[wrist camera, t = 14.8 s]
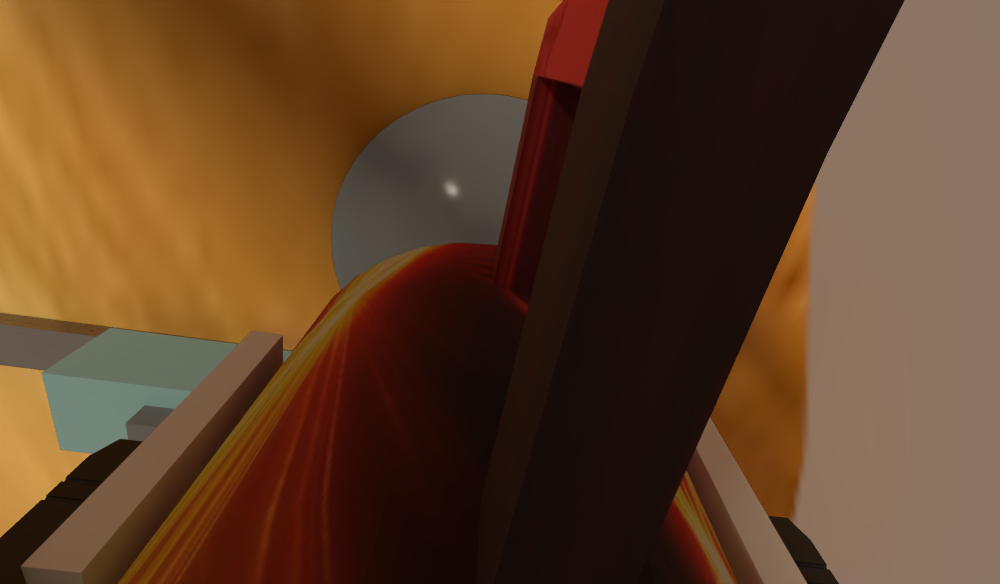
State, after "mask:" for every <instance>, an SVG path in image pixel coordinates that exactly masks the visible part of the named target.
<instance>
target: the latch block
mask: <svg viewBox="0 0 1000 584" xmlns="http://www.w3.org/2000/svg"><path fill="white" fill-rule="evenodd" d="M237 345H238V344H232V343H225V342H217V341H209V340H201V339H194V338H186V337H178V336H170V335H163V334H155V333H147V332H139V331H132V330H124V329H116V328H109V329H108V330H106V331H105V332H103V333H102V334H100V335H99V336H97V337H96V338H94V339H92V340H91V341H89V342H88V343H86V344H85V345H83V346H82V347H80V348H79V349H77V350H76V351H74V352H73V353H71V354H70V355H68V356H66V357H65V358H63V359H62V360H60V361H59V362H57V363H56V364H54V365H53V366H51V367H50V368H48V369H47V370H45V371H44V372H42V377H43V381H44V385H45V389H46V393H47V397H48V402H49V406H50V410H51V414H52V418H53V422H54V426H55V430H56V434H57V438H58V442H59V446H60V450H66V451H74V452H83V453H91V454H93V453H95V452H97V451H99V450H100V449H102V448H104V447H106V446H108V445H110V444H111V443H113V442H115V441H117V440H119V439H127V440H135V441H144V440H145V439H146V438H147V437H148V436H149V435H150V434H151V433H152V432H153V431H154V430H155V429H156V428H157V427H158V426H159V425H160V424H161V423H162V422H163V421H164V420H165V419H166V418H167V417H168V416H169V415H170V414H171V413H172V412H173V411H174V409H175V408H176V407H177V406H178V405H179V404H180V403H181V402H182V401H183V400H184V399H185V398H186V397H187V396H188V395H189V394H190V393H191V392H192V391H193V390H194V389H195V388H196V387H197V386H198V385H199V384H200V383H201V382H202V381H203V380H204V379H205V378H206V377H207V376H208V375H209V374H210V373H211V372H212V371H213V370H214V369H215V368H216V367H217V366H218V365H219V364H220V363H221V362H222V361H223V360H224V359H225V358H226V357H227V355H228V354H229V353H230V352H231V351H232V350H233V349H234V348H235V347H236V346H237ZM291 352H292V351H287V350H283V363H284V362H285V360H286V359H287V358H288V356H289V355H290V354H291Z"/></svg>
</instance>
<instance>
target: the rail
mask: <svg viewBox="0 0 1000 584" xmlns="http://www.w3.org/2000/svg"><path fill="white" fill-rule="evenodd" d="M109 328H113V327H105V326H97V325H90V324H82V323H74V322H66V321H59V320H51V319H43V318H35V317H28V316H20V315H12V314H4V313H0V365H5V366H13V367H21V368H30V369H38V370H47V369H48V368H50V367H51V366H53V365H54V364H56V363H57V362H59V361H60V360H62V359H63V358H65V357H66V356H68V355H70V354H71V353H73V352H74V351H76V350H77V349H79V348H80V347H82V346H83V345H85V344H86V343H88V342H89V341H91V340H92V339H94V338H96V337H97V336H99V335H100V334H102V333H103V332H105V331H106V330H108V329H109ZM116 329H121V328H116ZM124 330H128V329H124ZM132 331H136V330H132ZM139 332H144V331H139ZM147 333H152V332H147ZM155 334H159V333H155ZM163 335H167V334H163ZM170 336H175V335H170ZM178 337H183V336H178ZM186 338H190V337H186ZM194 339H198V338H194ZM201 340H206V339H201ZM209 341H213V340H209ZM217 342H221V341H217ZM225 343H229V342H225ZM232 344H237V343H232ZM287 351H291V350H287Z"/></svg>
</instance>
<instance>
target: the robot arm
mask: <svg viewBox="0 0 1000 584" xmlns="http://www.w3.org/2000/svg"><path fill="white" fill-rule="evenodd" d="M282 364H283V335H278V334H271V333H263V332H256V331H251V332H250V333H249V334H248V335H247V336H246V337H245V338H244V339H243V340H242V341H241V342H240V343H239V344H238V345H237V346H236V347H235V348H234V349H233V350H232V351H231V352H230V353H229V354H228V355H227V357H226V358H225V359H224V360H223V361H222V362H221V363H220V364H219V365H218V366H217V367H216V368H215V369H214V370H213V371H212V372H211V373H210V374H209V375H208V376H207V377H206V378H205V379H204V380H203V381H202V382H201V383H200V384H199V385H198V386H197V387H196V388H195V389H194V390H193V391H192V392H191V393H190V394H189V395H188V396H187V397H186V398H185V399H184V400H183V401H182V402H181V403H180V404H179V405H178V406H177V407H176V408H175V409H174V411H173V412H172V413H171V414H170V415H169V416H168V417H167V418H166V419H165V420H164V421H163V422H162V423H161V424H160V425H159V426H158V427H157V428H156V429H155V430H154V431H153V432H152V433H151V434H150V435H149V436H148V437H147V438H146V439H145V440H144V441H135V440H127V439H119V440H117V441H115V442H113V443H111V444H110V445H108V446H106V447H104V448H102V449H100V450H99V451H97V452H95V453H93V454H91V455H90V456H88V457H87V458H86V459H85V460H84V461H83V462H82V463H81V464H80V465H79V466H78V467H77V468H75V469H74V470H73V471H72V472H71V473H70V474H69V475H68V476H67V477H66V480H65V481H64V482H62V481H61V482H60V483H59V484H58V485H57V486H56V487H55V488H54V489H53V490H52V491H51V492H49V493H48V494H47V495H46V499H45V500H41V501H40V502H39V503H37V504H36V505H35V506H34V507H33V508H32V509H31V510H30V511H29V512H28V513H27V514H26V515H24V516H23V517H22V518H21V519H20V520H19V521H18V522H17V523H16V524H15V525H14V526H13V527H11V528H10V529H9V530H8V531H7V532H6V533H5V534H4V535H3V536H2V537H1V538H0V584H118V582H119V581H120V580H121V578H122V577H123V576H124V574H125V573H126V572H127V570H128V569H129V568H130V566H131V565H132V564H133V562H134V561H135V560H136V558H137V557H138V556H139V554H140V553H141V552H142V550H143V549H144V548H145V546H146V545H147V544H148V542H149V541H150V540H151V538H152V537H153V536H154V534H155V533H156V532H157V530H158V529H159V528H160V526H161V525H162V524H163V522H164V521H165V520H166V518H167V517H168V516H169V515H170V513H171V512H172V511H173V509H174V508H175V507H176V505H177V504H178V503H179V501H180V500H181V499H182V497H183V496H184V495H185V493H186V492H187V491H188V489H189V488H190V487H191V485H192V484H193V483H194V481H195V480H196V479H197V477H198V476H199V475H200V473H201V472H202V471H203V469H204V468H205V467H206V465H207V464H208V463H209V461H210V460H211V459H212V457H213V456H214V455H215V453H216V452H217V451H218V449H219V448H220V447H221V445H222V444H223V443H224V441H225V440H226V439H227V437H228V436H229V435H230V433H231V432H232V431H233V430H234V428H235V427H236V426H237V424H238V423H239V422H240V420H241V419H242V418H243V416H244V415H245V414H246V412H247V411H248V410H249V408H250V407H251V406H252V404H253V403H254V402H255V400H256V399H257V398H258V396H259V395H260V394H261V392H262V391H263V390H264V388H265V387H266V386H267V384H268V383H269V382H270V380H271V379H272V378H273V376H274V375H275V374H276V372H277V371H278V370H279V368H280V367H281V366H282ZM687 472H688V474H689V477H690V479H691V481H692V483H693V485H694V488H695V490H696V492H697V494H698V497H699V499H700V501H701V503H702V505H703V508H704V510H705V512H706V514H707V517H708V519H709V521H710V523H711V525H712V528H713V530H714V532H715V534H716V536H717V539H718V541H719V543H720V545H721V548H722V550H723V552H724V554H725V556H726V559H727V561H728V563H729V565H730V568H731V570H732V572H733V574H734V576H735V579H736V581H737V583H738V584H839V583H838V582H837V580H836V579H835V577H834V576H833V574H832V573H831V571H830V570H827V568H826V563H825V562H824V560H823V559H822V557H821V556H820V554H819V552H818V551H817V549H816V548H815V546H814V545H813V543H812V542H811V540H810V539H809V538H808V537H807V536H806V535H805V534H804V533H803V532H801V531H800V530H799V529H798V528H797V527H796V526H795V525H794V524H793V523H792V522H791V521H790V520H789V519H788V518H782V517H774V516H767V514H766V512H765V510H764V509H763V507H762V505H761V504H760V502H759V500H758V498H757V497H756V495H755V493H754V492H753V490H752V488H751V486H750V485H749V483H748V481H747V480H746V478H745V476H744V475H743V473H742V471H741V469H740V468H739V466H738V464H737V463H736V461H735V459H734V457H733V456H732V454H731V452H730V451H729V449H728V447H727V445H726V444H725V442H724V440H723V439H722V437H721V435H720V433H719V432H718V430H717V428H716V427H715V425H714V423H713V421H712V420H711V418H709V420H708V423H707V425H706V427H705V429H704V432H703V434H702V436H701V438H700V441H699V443H698V445H697V447H696V450H695V452H694V454H693V456H692V459H691V461H690V463H689V465H688V468H687Z"/></svg>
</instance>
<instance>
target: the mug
mask: <svg viewBox="0 0 1000 584" xmlns="http://www.w3.org/2000/svg"><path fill="white" fill-rule="evenodd" d="M903 2H904V0H563V1H562V3H561V4H560V5H559V6H558V7H557V8H556V10H555V11H554V12H553V13H552V14H551V15H550V17H549V18H548V21H547V25H546V29H545V32H544V36H543V40H542V44H541V47H540V51H539V55H538V59H537V62H536V66H535V70H534V74H533V79H532V83H531V88H530V93H529V98H528V103H527V107H526V112H525V117H524V122H523V126H522V131H521V136H520V141H519V146H518V150H517V155H516V160H515V165H514V169H513V174H512V179H511V184H510V189H509V193H508V198H507V203H506V208H505V212H504V217H503V222H502V227H501V232H500V236H499V241H498V245H491V244H474V243H450V244H442V245H434V246H427V247H420V248H417V249H414V250H411V251H408V252H405V253H402V254H399V255H396V256H393V257H390V258H387V259H385V260H383V261H382V262H380V263H378V264H376V265H375V266H373V267H371V268H370V269H368V270H366V271H364V272H363V273H361V274H359V275H357V276H356V277H355V278H354V279H353V280H352V281H351V282H349V283H348V284H347V285H346V286H345V287H344V288H343V289H342V290H341V291H340V292H339V293H337V294H336V295H335V296H334V297H333V298H332V299H331V301H330V302H329V303H328V305H327V306H326V307H325V309H324V310H323V311H322V313H321V314H320V315H319V317H318V318H317V319H316V321H315V322H314V323H313V325H312V326H311V327H310V329H309V330H308V331H307V333H306V334H305V335H304V337H303V338H302V339H301V341H300V342H299V343H298V345H297V346H296V347H295V348H294V350H293V351H292V352H291V354H290V355H289V356H288V358H287V359H286V360H285V362H284V363H283V364H282V366H281V367H280V368H279V370H278V371H277V372H276V374H275V375H274V376H273V378H272V379H271V380H270V382H269V383H268V384H267V386H266V387H265V388H264V390H263V391H262V392H261V394H260V395H259V396H258V398H257V399H256V400H255V402H254V403H253V404H252V406H251V407H250V408H249V410H248V411H247V412H246V414H245V415H244V416H243V418H242V419H241V420H240V422H239V423H238V424H237V426H236V427H235V428H234V430H233V431H232V432H231V433H230V435H229V436H228V437H227V439H226V440H225V441H224V443H223V444H222V445H221V447H220V448H219V449H218V451H217V452H216V453H215V455H214V456H213V457H212V459H211V460H210V461H209V463H208V464H207V465H206V467H205V468H204V469H203V471H202V472H201V473H200V475H199V476H198V477H197V479H196V480H195V481H194V483H193V484H192V485H191V487H190V488H189V489H188V491H187V492H186V493H185V495H184V496H183V497H182V499H181V500H180V501H179V503H178V504H177V505H176V507H175V508H174V509H173V511H172V512H171V513H170V515H169V516H168V517H167V518H166V520H165V521H164V522H163V524H162V525H161V526H160V528H159V529H158V530H157V532H156V533H155V534H154V536H153V537H152V538H151V540H150V541H149V542H148V544H147V545H146V546H145V548H144V549H143V550H142V552H141V553H140V554H139V556H138V557H137V558H136V560H135V561H134V562H133V564H132V565H131V566H130V568H129V569H128V570H127V572H126V573H125V574H124V576H123V577H122V578H121V580H120V581H119V582H118V584H738V583H737V581H736V579H735V576H734V574H733V572H732V570H731V568H730V565H729V563H728V561H727V559H726V556H725V554H724V552H723V550H722V548H721V545H720V543H719V541H718V539H717V536H716V534H715V532H714V530H713V528H712V525H711V523H710V521H709V519H708V517H707V514H706V512H705V510H704V508H703V505H702V503H701V501H700V499H699V497H698V494H697V492H696V490H695V488H694V485H693V483H692V481H691V479H690V477H689V474H688V472H687V468H688V465H689V463H690V461H691V459H692V456H693V454H694V452H695V450H696V447H697V445H698V443H699V441H700V438H701V436H702V434H703V432H704V429H705V427H706V425H707V423H708V420H709V418H710V416H711V414H712V411H713V409H714V407H715V405H716V402H717V400H718V398H719V396H720V393H721V391H722V389H723V387H724V384H725V382H726V380H727V378H728V375H729V373H730V371H731V369H732V366H733V364H734V362H735V360H736V357H737V355H738V353H739V351H740V348H741V346H742V344H743V342H744V339H745V337H746V335H747V333H748V330H749V328H750V326H751V324H752V321H753V319H754V317H755V315H756V312H757V310H758V308H759V306H760V303H761V301H762V299H763V297H764V294H765V292H766V290H767V288H768V285H769V283H770V281H771V279H772V276H773V274H774V272H775V270H776V267H777V265H778V263H779V261H780V258H781V256H782V254H783V252H784V249H785V247H786V245H787V243H788V240H789V238H790V236H791V234H792V231H793V229H794V227H795V225H796V222H797V220H798V218H799V216H800V213H801V211H802V209H803V207H804V204H805V202H806V200H807V198H808V195H809V193H810V191H811V189H812V186H813V184H814V182H815V180H816V177H817V175H818V173H819V171H820V168H821V166H822V164H823V162H824V159H825V157H826V155H827V153H828V151H829V149H830V147H831V145H832V143H833V141H834V139H835V137H836V135H837V133H838V131H839V129H840V127H841V125H842V123H843V121H844V119H845V117H846V115H847V113H848V111H849V109H850V107H851V105H852V103H853V101H854V99H855V97H856V95H857V93H858V91H859V89H860V87H861V85H862V83H863V81H864V79H865V77H866V75H867V74H868V71H869V69H870V68H871V66H872V64H873V62H874V60H875V58H876V56H877V54H878V52H879V50H880V48H881V46H882V43H883V42H884V40H885V38H886V36H887V34H888V32H889V30H890V28H891V26H892V24H893V22H894V20H895V18H896V16H897V14H898V12H899V10H900V8H901V6H902V4H903Z"/></svg>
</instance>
